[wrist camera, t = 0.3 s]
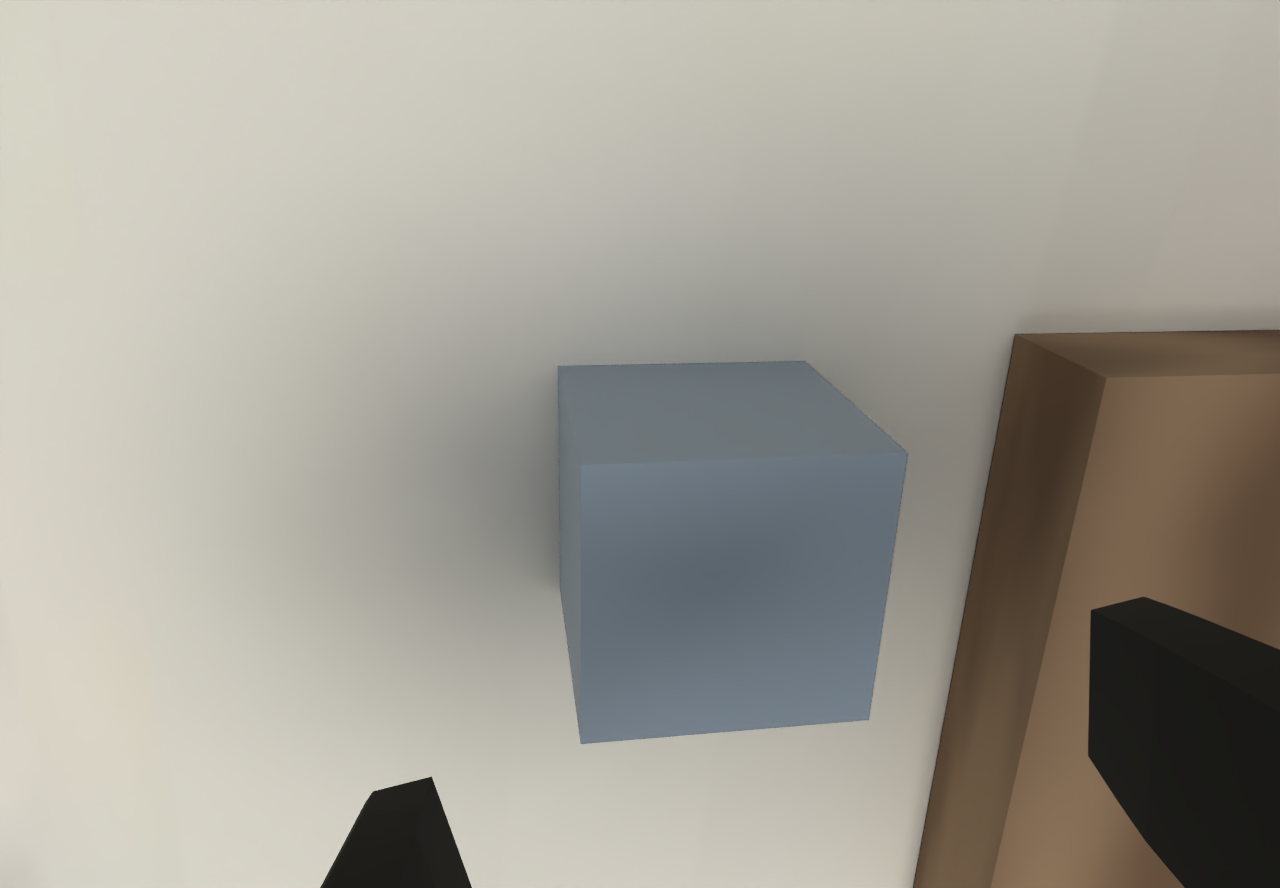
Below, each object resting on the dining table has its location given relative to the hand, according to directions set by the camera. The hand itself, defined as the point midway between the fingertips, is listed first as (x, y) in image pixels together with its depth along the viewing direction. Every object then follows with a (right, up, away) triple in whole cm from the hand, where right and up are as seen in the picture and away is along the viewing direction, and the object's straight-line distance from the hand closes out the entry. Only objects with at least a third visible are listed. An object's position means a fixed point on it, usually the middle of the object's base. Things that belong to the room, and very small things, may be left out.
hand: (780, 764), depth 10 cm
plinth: (+11, -2, +13) cm, 17 cm away
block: (-1, +3, +9) cm, 10 cm away
